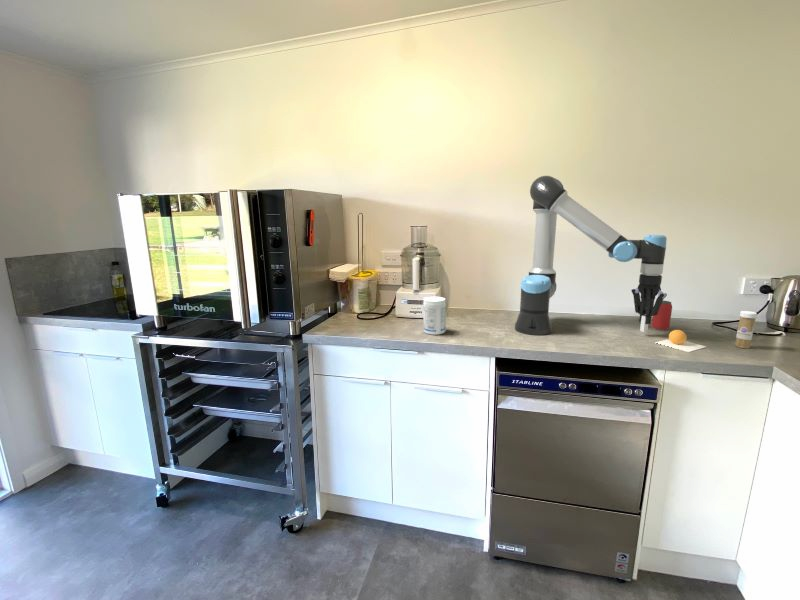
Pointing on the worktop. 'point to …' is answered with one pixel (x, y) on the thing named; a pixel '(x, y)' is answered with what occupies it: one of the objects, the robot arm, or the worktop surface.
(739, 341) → the sprinkles bottle
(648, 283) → the robot arm
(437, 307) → the supplement tub
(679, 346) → the spiral notepad
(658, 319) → the beer can
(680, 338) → the ball
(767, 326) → the worktop surface
